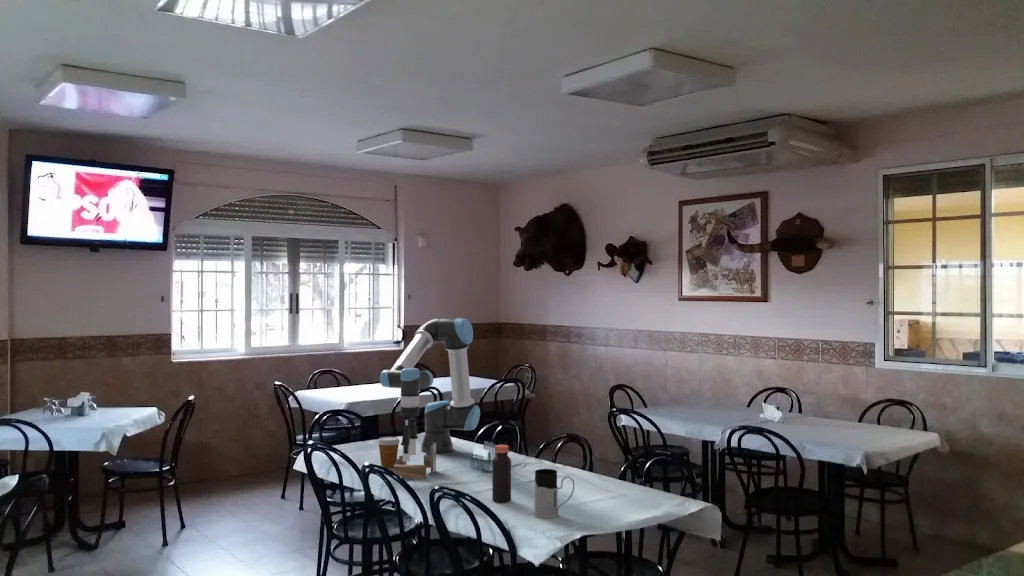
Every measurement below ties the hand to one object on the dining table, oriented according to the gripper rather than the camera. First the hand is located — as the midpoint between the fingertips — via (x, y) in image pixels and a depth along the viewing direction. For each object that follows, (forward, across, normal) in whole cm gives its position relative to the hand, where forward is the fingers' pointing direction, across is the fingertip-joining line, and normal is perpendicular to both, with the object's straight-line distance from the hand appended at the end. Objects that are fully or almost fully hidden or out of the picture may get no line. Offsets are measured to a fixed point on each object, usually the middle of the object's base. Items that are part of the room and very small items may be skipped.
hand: (409, 458), depth 320 cm
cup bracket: (+8, -9, +7) cm, 14 cm away
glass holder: (+9, +50, +59) cm, 78 cm away
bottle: (+8, +32, +40) cm, 52 cm away
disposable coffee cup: (+8, -20, -13) cm, 26 cm away
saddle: (+8, -8, -5) cm, 13 cm away
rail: (+8, 0, 0) cm, 8 cm away
